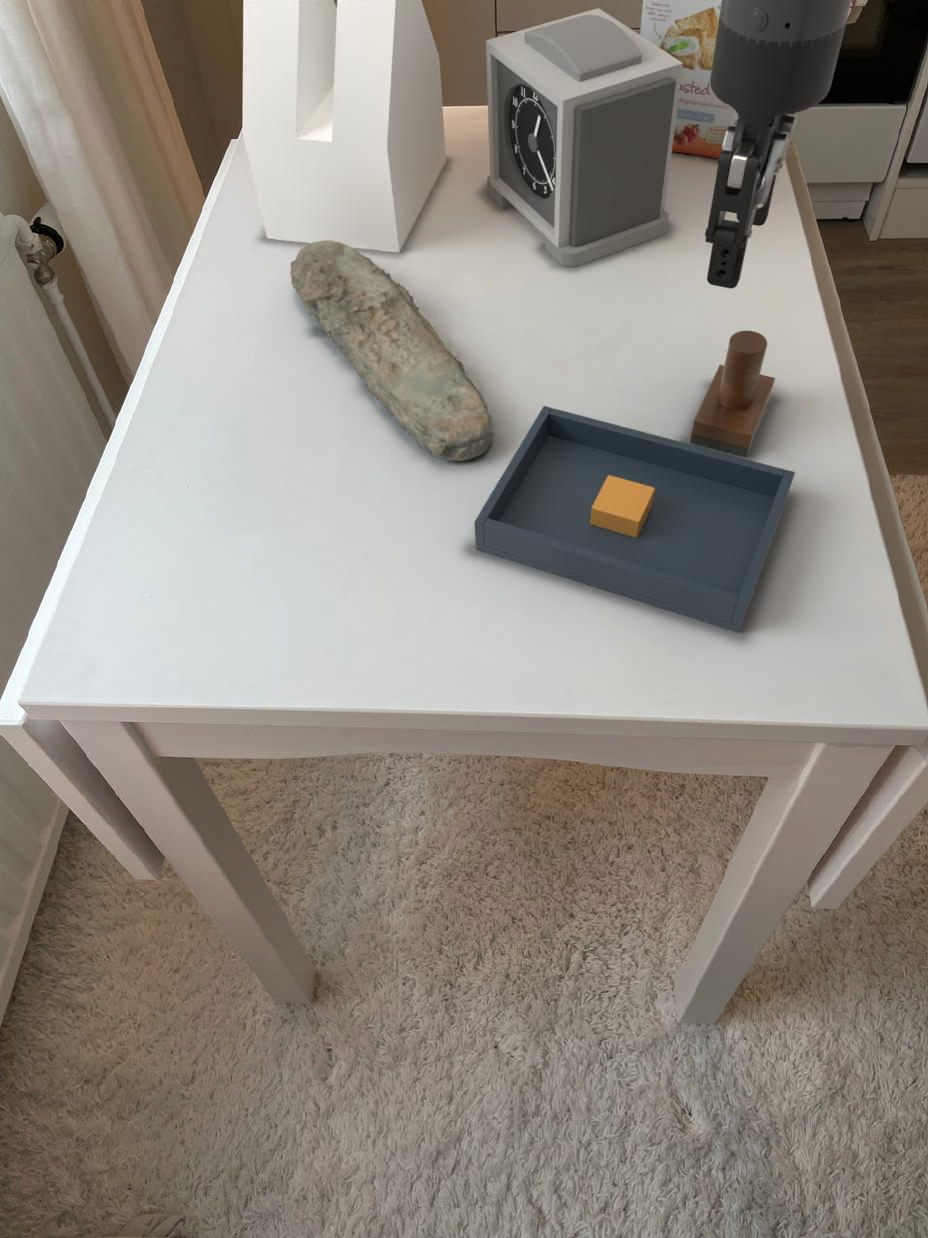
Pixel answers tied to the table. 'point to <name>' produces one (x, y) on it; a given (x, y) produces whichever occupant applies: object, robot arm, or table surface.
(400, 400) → the elongated rock
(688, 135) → the cracker box
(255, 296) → the table surface
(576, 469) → the tray
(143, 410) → the table surface
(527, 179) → the alarm clock
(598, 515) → the orange squat block
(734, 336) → the rubber stamp
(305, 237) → the white slotted tapered block
